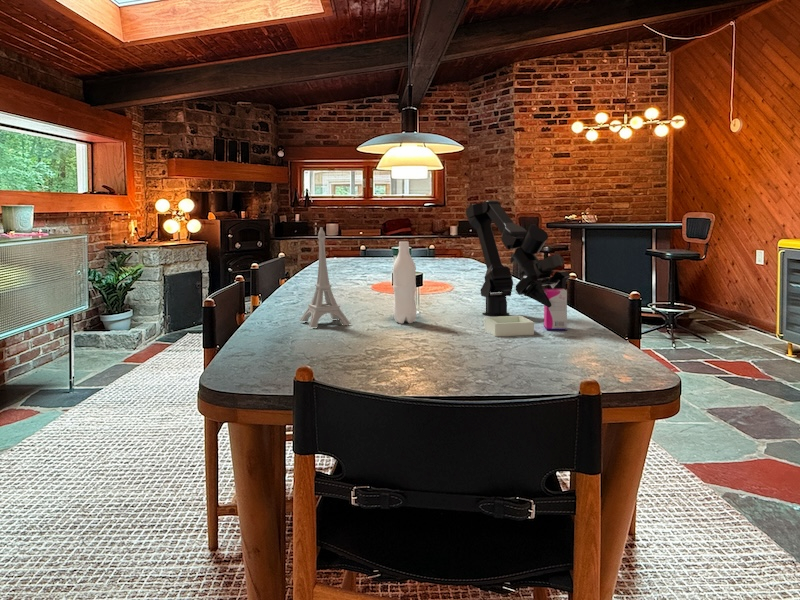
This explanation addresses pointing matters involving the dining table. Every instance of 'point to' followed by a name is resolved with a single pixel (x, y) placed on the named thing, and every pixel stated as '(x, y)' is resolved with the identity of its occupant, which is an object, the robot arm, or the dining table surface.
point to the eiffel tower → (317, 306)
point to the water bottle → (404, 285)
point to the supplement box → (556, 310)
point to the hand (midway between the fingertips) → (559, 304)
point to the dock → (509, 325)
